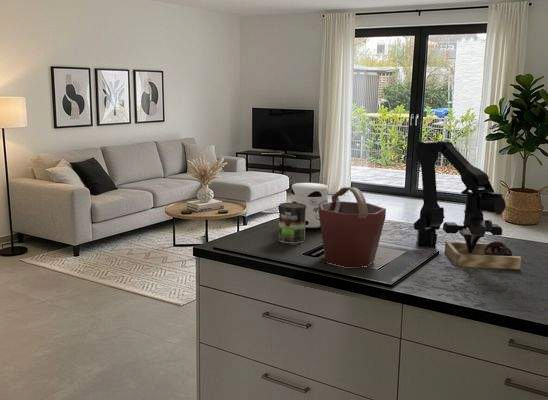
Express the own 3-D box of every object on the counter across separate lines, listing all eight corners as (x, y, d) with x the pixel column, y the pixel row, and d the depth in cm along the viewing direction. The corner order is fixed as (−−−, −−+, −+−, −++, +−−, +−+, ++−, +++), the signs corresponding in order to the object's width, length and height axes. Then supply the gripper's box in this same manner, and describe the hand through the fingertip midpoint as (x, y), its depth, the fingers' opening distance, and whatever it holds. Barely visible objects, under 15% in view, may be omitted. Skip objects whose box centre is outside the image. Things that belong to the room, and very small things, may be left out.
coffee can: (299, 245, 204) (301, 208, 202) (274, 242, 208) (275, 206, 206) (308, 239, 214) (309, 203, 211) (283, 236, 218) (284, 201, 215)
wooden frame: (456, 266, 184) (457, 254, 183) (444, 251, 201) (445, 241, 200) (519, 269, 182) (521, 257, 181) (502, 254, 199) (503, 243, 198)
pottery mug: (519, 268, 185) (512, 248, 182) (491, 277, 187) (484, 259, 185) (507, 249, 196) (501, 231, 193) (481, 259, 198) (474, 241, 195)
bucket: (315, 250, 199) (318, 182, 195) (377, 252, 199) (381, 183, 194) (319, 271, 175) (322, 194, 171) (388, 273, 175) (393, 196, 170)
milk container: (330, 232, 226) (332, 189, 222) (288, 231, 226) (289, 188, 222) (327, 223, 243) (328, 182, 239) (287, 222, 243) (289, 181, 239)
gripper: (451, 212, 181) (447, 258, 184) (509, 214, 180) (505, 260, 183) (444, 206, 192) (440, 249, 195) (499, 208, 191) (494, 251, 193)
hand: (469, 252), depth 191 cm, fingers closed
